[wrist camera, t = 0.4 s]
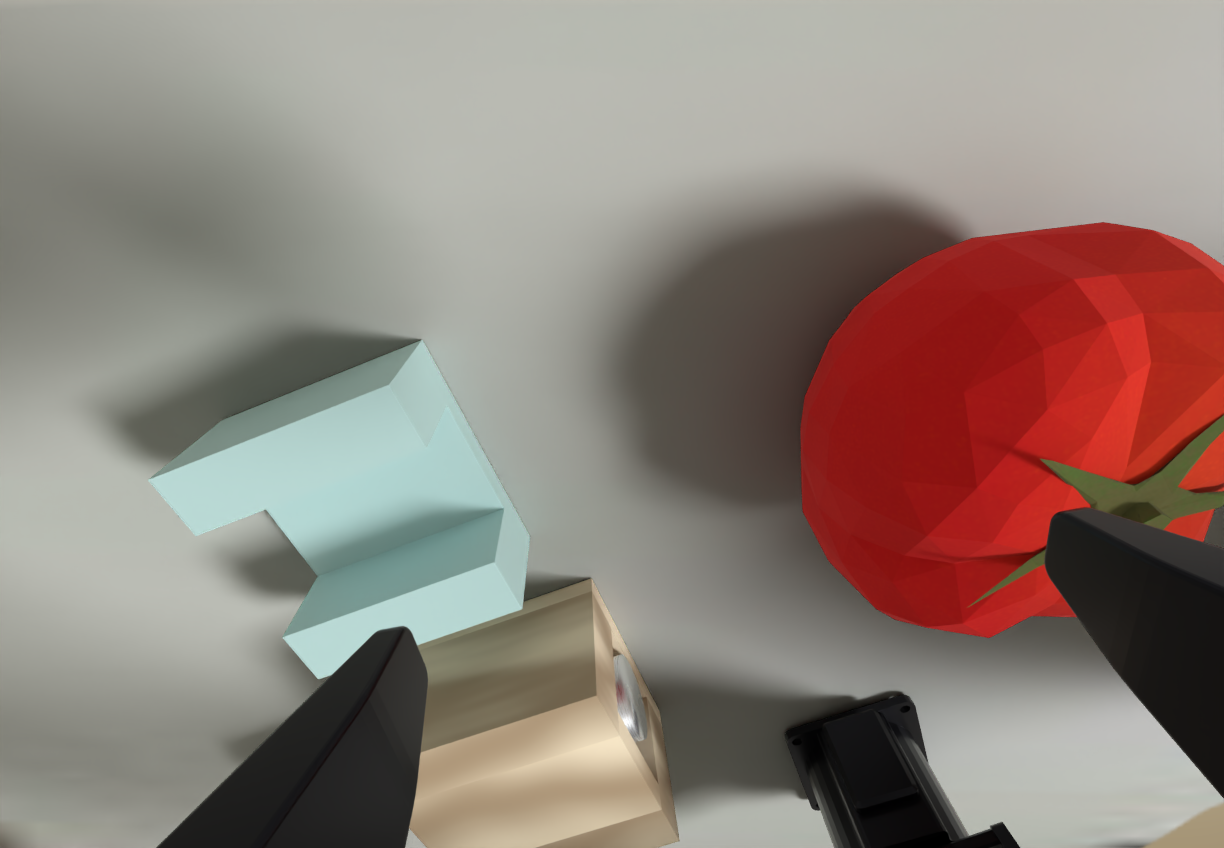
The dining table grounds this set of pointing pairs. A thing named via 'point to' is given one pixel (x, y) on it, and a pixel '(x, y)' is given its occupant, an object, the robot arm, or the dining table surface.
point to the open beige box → (538, 736)
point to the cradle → (365, 504)
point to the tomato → (1013, 416)
